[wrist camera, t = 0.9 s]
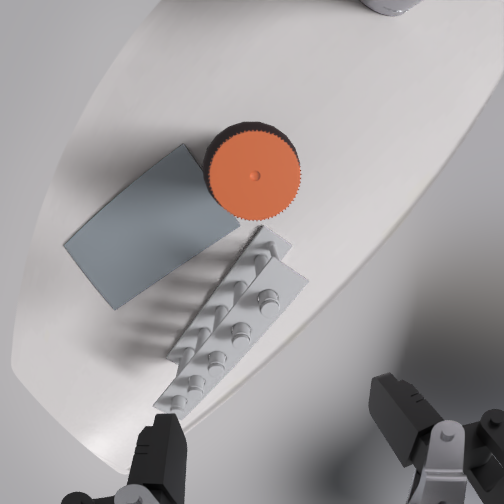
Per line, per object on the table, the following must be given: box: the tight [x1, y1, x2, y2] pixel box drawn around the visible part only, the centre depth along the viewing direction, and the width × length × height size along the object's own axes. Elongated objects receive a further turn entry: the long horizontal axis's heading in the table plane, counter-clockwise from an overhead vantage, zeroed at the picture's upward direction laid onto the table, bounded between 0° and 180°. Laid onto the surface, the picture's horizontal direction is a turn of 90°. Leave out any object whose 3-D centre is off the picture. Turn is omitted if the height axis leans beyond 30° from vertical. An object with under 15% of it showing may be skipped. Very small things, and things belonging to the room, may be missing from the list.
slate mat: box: [64, 144, 240, 310], centre depth 36 cm, size 22×12×1 cm, turn 123°
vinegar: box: [203, 122, 302, 221], centre depth 25 cm, size 7×7×20 cm
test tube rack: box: [153, 225, 309, 420], centre depth 34 cm, size 25×4×13 cm, turn 145°
